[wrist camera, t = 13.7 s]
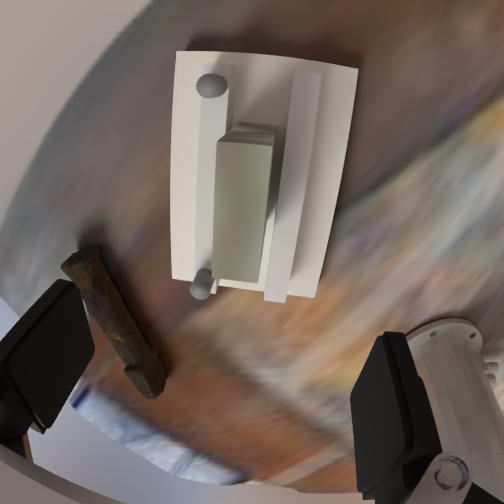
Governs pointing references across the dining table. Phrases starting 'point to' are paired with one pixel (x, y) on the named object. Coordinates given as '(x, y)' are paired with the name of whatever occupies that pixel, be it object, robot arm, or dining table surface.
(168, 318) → the dining table surface
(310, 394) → the dining table surface
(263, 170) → the rectangular block
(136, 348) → the hand tool
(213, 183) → the slider channel
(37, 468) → the robot arm
